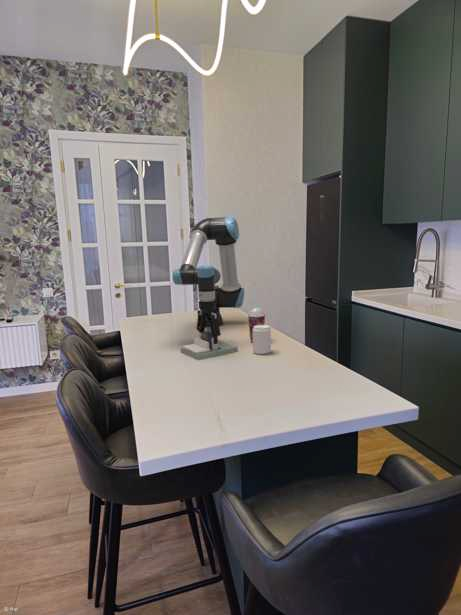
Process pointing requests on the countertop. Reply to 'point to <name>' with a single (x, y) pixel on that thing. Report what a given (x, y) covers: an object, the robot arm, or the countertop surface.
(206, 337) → the plug
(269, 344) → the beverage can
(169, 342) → the countertop surface
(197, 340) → the panel
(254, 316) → the smoothie
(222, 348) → the socket plate
